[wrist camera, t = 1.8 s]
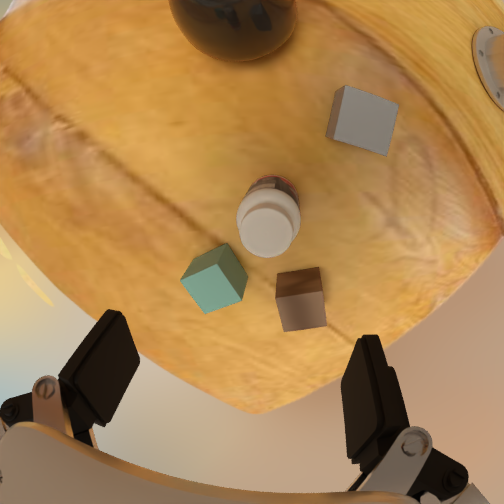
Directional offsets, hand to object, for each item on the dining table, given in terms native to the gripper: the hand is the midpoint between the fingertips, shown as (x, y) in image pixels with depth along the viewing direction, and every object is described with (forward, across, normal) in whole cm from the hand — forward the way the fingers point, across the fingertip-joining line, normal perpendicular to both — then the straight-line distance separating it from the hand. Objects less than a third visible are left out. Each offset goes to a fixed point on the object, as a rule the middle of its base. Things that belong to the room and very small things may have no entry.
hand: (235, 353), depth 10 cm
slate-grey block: (+21, -8, -9) cm, 24 cm away
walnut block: (+21, -4, +11) cm, 24 cm away
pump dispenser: (+21, +3, -19) cm, 29 cm away
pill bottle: (+21, 0, 0) cm, 21 cm away
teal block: (+21, +6, +9) cm, 24 cm away
